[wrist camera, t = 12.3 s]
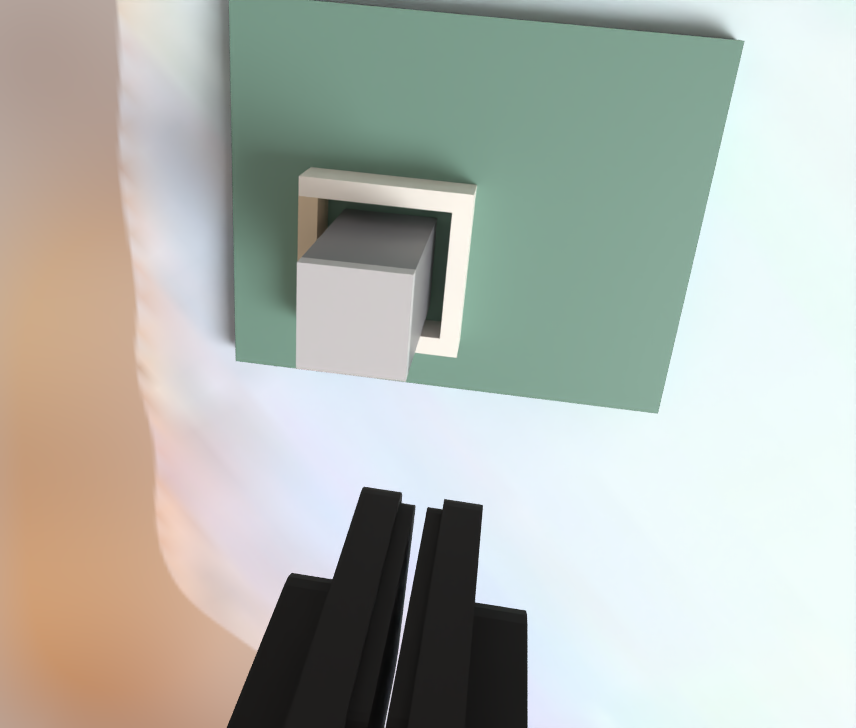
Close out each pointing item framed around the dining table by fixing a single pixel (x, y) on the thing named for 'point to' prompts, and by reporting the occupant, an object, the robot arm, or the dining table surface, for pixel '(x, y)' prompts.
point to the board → (482, 183)
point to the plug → (365, 294)
